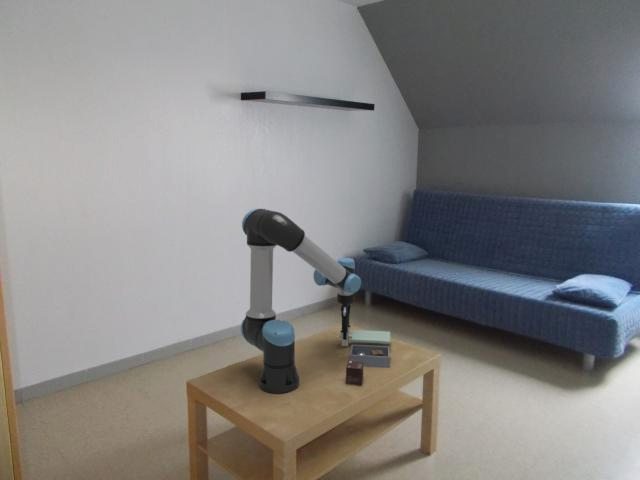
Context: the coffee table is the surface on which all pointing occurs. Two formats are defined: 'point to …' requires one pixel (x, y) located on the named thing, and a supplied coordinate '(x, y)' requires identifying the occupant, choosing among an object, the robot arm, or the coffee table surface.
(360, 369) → the box
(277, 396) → the coffee table surface
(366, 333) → the lid
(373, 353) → the walnut block
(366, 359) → the tub
